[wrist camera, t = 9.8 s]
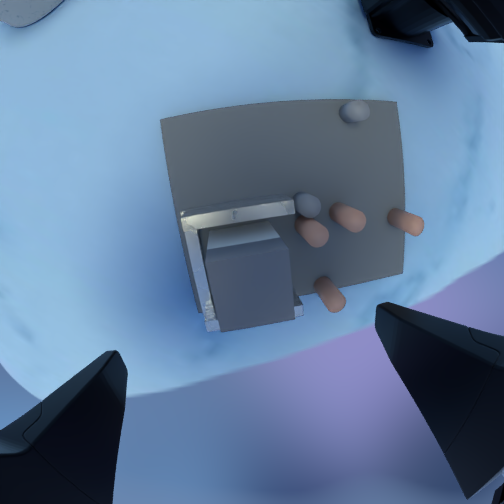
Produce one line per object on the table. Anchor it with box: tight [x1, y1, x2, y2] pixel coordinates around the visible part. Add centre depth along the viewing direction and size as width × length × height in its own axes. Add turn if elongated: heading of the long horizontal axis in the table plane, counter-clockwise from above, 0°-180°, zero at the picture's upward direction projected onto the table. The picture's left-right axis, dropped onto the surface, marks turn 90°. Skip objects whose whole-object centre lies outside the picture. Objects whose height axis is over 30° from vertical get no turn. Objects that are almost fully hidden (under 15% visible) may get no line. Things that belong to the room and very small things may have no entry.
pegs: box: [292, 100, 424, 313], centre depth 18 cm, size 9×14×3 cm, turn 8°
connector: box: [205, 221, 295, 332], centre depth 17 cm, size 4×4×6 cm
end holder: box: [180, 193, 303, 332], centre depth 18 cm, size 7×8×3 cm
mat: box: [160, 99, 405, 313], centre depth 19 cm, size 17×14×1 cm
